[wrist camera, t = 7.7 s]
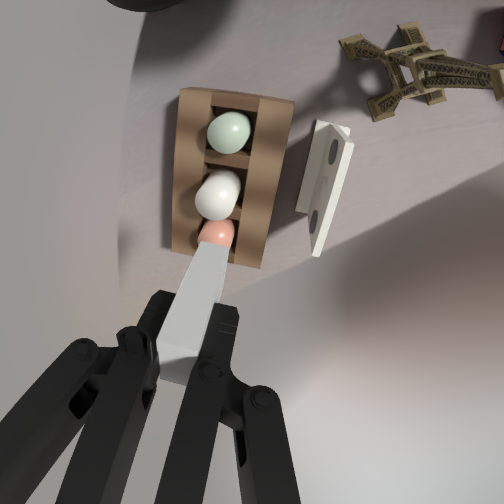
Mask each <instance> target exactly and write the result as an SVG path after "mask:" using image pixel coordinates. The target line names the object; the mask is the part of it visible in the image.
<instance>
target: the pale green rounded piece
mask: <svg viewBox="0 0 504 504" xmlns="http://www.w3.org/2000/svg"><path fill="white" fill-rule="evenodd" d="M252 128H253V124H252V120H251V118H250V117H249V116H248V114H246V113H245V112H243V111H241V110H236V109H234V110H229V111H227V112H225V113H223V114H222V115H220V116H219V117H217V118H216V119H214V120H213V121H212V122H211V124H210V125H209V127H208V130H207V138H208V141H209V143H210V145H211V146H212V147H213V148H214V149H215V150H216V151H218V152H220V153H224V154H231V153H235V152H237V151H239V150H240V149H241V148H242V147H243V146H244V144H245V143H246V141H247V139H248V138H249V136H250V134H251V132H252Z"/></svg>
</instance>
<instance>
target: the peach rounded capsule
mask: <svg viewBox="0 0 504 504" xmlns="http://www.w3.org/2000/svg"><path fill="white" fill-rule="evenodd" d="M236 228H237V221H236V220H235V219H229V218H225V219H223V220H219V221H213V220H209V219H207V220H206V222H205V224H204V226H203V228H202V230H201V232H200V234H199V236H198V240H197V242H198V246H199V244H200V242H201V241H204V242H209V243H213V244H218V245H222V246H227V247H231V244H232V240H233V237H234V234H235V231H236ZM229 250H230V249H229Z"/></svg>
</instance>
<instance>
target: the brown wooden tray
mask: <svg viewBox="0 0 504 504" xmlns="http://www.w3.org/2000/svg"><path fill="white" fill-rule="evenodd" d="M294 106H295V104H294V101H289V100H284V99H279V98H273V97H268V96H262V95H256V94H249V93H242V92H235V91H227V90H219V89H209V88H199V87H188V88H183V89H180V96H179V106H178V116H177V128H176V140H175V155H174V172H173V195H172V251H173V252H178V253H183V254H188V255H193V256H194V255H195V253H196V251H197V248H198V242H197V240H198V236H199V234H200V232H201V230H202V228H203V226H204V224H205V222H206V220H207V218H205V217H203V216H202V215H201V214H200V213H199V212H198V210H197V208H196V205H195V197H196V194H197V192H198V191H199V189H200V188H201V186H202V185H203V184H204V182H205V181H206V179H207V178H208V176H209V175H210V174H211V173H212V172H213V171H215V170H217V169H221V168H225V169H229V170H232V171H233V172H235V173H236V174H237V175H238V177H239V178H240V181H241V190H240V193H239V195H238V198H237V201H236V203H235V206H234V208H233V211H232V213H231V214H230V215H229V216H228V217H227V218H229V219H235V220H236V221H237V228H236V231H235V234H234V237H233V240H232V244H231V247H230V250H229V255H228V261H227V262H228V263H233V264H238V265H243V266H248V267H253V268H258V269H260V265H261V261H262V256H263V252H264V247H265V243H266V238H267V234H268V229H269V224H270V220H271V215H272V210H273V206H274V201H275V196H276V192H277V187H278V182H279V178H280V173H281V168H282V163H283V159H284V154H285V149H286V144H287V140H288V135H289V130H290V125H291V120H292V115H293V111H294ZM234 109H236V110H241V111H243V112H245V113H246V114H248V116H249V117H250V118H251V120H252V124H253V128H252V132H251V134H250V136H249V138H248V139H247V141H246V143H245V144H244V146H243V147H242V148H241V149H240V150H239V151H237V152H235V153H231V154H224V153H220V152H218V151H216V150H215V149H214V148H213V147H212V146H211V145H210V143H209V141H208V138H207V130H208V127H209V125H210V124H211V122H212V121H213V120H214V119H216V118H217V117H219V116H220V115H222V114H223V113H225V112H227V111H229V110H234Z"/></svg>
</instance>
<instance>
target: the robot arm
mask: <svg viewBox="0 0 504 504" xmlns="http://www.w3.org/2000/svg"><path fill="white" fill-rule="evenodd" d="M107 1H108V2H109V3H111V4H113V5H115V6H117V7H119V8H122V9H126V10H130V11H135V12H150V11H156V10H161V9H164V8H167V7H170V6H172V5H175V4H177V3H179V2H181V1H183V0H107ZM229 249H230V247H227V246H222V245H218V244H213V243H209V242H204V241H201V242H200V244H199V246H198V248H197V251H196V253H195V255H194V257H193V259H192V261H191V263H190V265H189V268H188V270H187V272H186V274H185V276H184V278H183V281H182V283H181V285H180V287H179V289H178V292H177V294H175V293H171V292H167V291H163V290H159V291H158V292H156V293H155V294H154V295H153V296H152V297H151V299H150V300H149V302H148V304H147V306H146V308H145V310H144V313H143V314H142V316H141V318H140V320H139V322H138V324H137V326H129V327H125V328H123V329H121V330H120V331H119V332H118V333H117V334H116V336H117V340H118V345H119V346H118V347H98V346H97V344H96V343H95V342H94V341H93V340H90V339H88V338H81V339H78V340H75V341H74V342H72V343H71V344H70V345H69V346H68V347H67V348H66V349H65V350H64V351H63V352H62V353H61V354H60V356H59V357H58V358H57V359H56V360H55V361H54V362H53V363H52V364H51V365H50V366H49V367H48V368H47V369H46V370H45V372H44V373H43V374H42V375H41V376H40V377H39V378H38V379H37V380H36V381H35V383H34V384H33V385H32V386H31V387H30V388H29V389H28V390H27V392H26V393H25V394H24V395H23V396H22V397H21V398H20V400H19V401H18V402H17V403H16V404H15V405H14V407H13V408H12V409H11V410H10V411H9V412H8V414H7V415H6V416H5V417H4V418H3V420H2V421H1V422H0V504H25V503H26V501H27V500H28V499H29V497H30V496H31V494H32V493H33V492H34V490H35V489H36V488H37V486H38V485H39V483H40V482H41V481H42V479H43V478H44V477H45V475H46V474H47V473H48V471H49V470H50V468H51V467H52V466H53V464H54V463H55V462H56V460H57V459H58V458H59V456H60V455H61V454H62V452H63V451H64V450H65V448H66V447H67V446H68V445H69V443H70V442H71V441H72V439H73V438H74V437H75V435H76V434H77V432H78V431H79V430H80V429H81V428H82V426H83V425H84V424H85V425H84V427H83V430H82V432H81V435H80V437H79V439H78V442H77V444H76V447H75V450H74V452H73V455H72V457H71V460H70V463H69V465H68V468H67V471H66V474H65V476H64V479H63V482H62V485H61V488H60V491H59V494H58V497H57V500H56V503H55V504H120V503H121V499H122V496H123V493H124V489H125V486H126V482H127V479H128V476H129V473H130V469H131V466H132V463H133V460H134V456H135V453H136V450H137V447H138V444H139V440H140V438H141V434H142V431H143V428H144V425H145V422H146V419H147V416H148V413H149V410H150V407H151V404H152V401H153V399H154V396H155V393H156V387H157V384H156V382H157V379H158V376H159V374H160V379H163V380H166V381H170V382H173V383H177V384H181V385H185V386H187V387H186V390H185V394H184V398H183V401H182V404H181V408H180V411H179V414H178V418H177V421H176V425H175V429H174V432H173V436H172V439H171V443H170V446H169V450H168V454H167V457H166V461H165V465H164V468H163V472H162V476H161V479H160V483H159V487H158V491H157V495H156V499H155V503H154V504H202V502H203V496H204V492H205V487H206V482H207V477H208V472H209V467H210V462H211V457H212V453H213V448H214V443H215V438H216V433H217V428H218V422H221V423H223V424H224V425H227V426H228V427H230V428H232V429H233V433H234V443H235V452H236V461H237V469H238V477H239V485H240V492H241V500H242V504H301V501H300V497H299V491H298V486H297V481H296V477H295V472H294V467H293V462H292V457H291V452H290V447H289V442H288V437H287V432H286V428H285V423H284V418H283V413H282V408H281V403H280V399H279V397H278V395H277V393H276V392H275V391H274V390H273V389H271V388H269V387H267V386H261V385H257V386H253V387H250V386H248V385H247V384H245V383H243V382H241V381H240V380H238V379H237V378H236V377H235V376H234V375H233V373H232V371H231V368H230V361H231V356H232V351H233V346H234V341H235V336H236V331H237V326H238V321H239V314H238V311H237V308H236V307H233V306H228V305H224V304H220V303H218V302H219V299H220V296H221V292H222V289H223V284H224V278H225V272H226V266H227V261H228V255H229Z"/></svg>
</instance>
